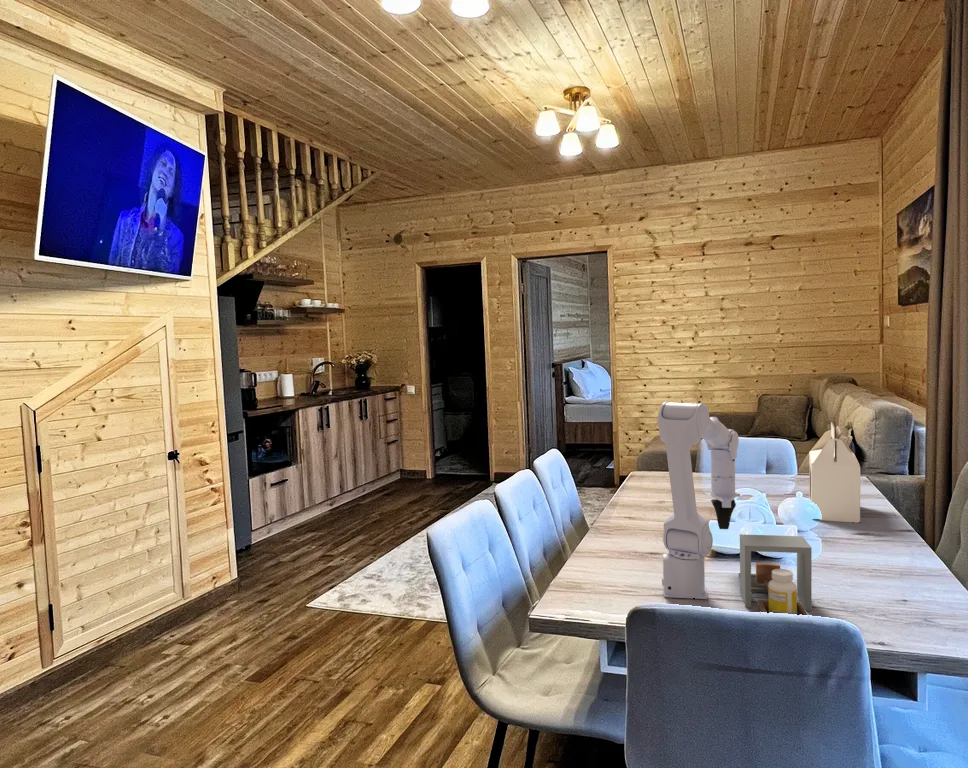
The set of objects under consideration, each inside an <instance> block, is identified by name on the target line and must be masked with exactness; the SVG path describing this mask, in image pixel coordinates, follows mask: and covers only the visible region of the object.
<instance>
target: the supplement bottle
mask: <svg viewBox="0 0 968 768" xmlns="http://www.w3.org/2000/svg"><path fill="white" fill-rule="evenodd" d="M772 579H773V580H771V581H770V582H769V584H768V593H767V594H768V600H769V611H768V613H769V612H773V613H788V614H797V615H798V612H797V602H798V597H797V583H795V582H794V581H793V580H794V573H793V571H791V570H788V569H785V568H780V569H774V570H772Z"/></svg>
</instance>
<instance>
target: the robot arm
mask: <svg viewBox="0 0 968 768" xmlns="http://www.w3.org/2000/svg"><path fill="white" fill-rule="evenodd" d="M657 424H658V433H659V440H660V441H662V443H664V445H665V451H666V457H667V459H666V460H667V467H668V474H669V476H668V477H669V483H670V492H671V498H672V507H673V508H672V509H673V513H672V514H671V515H669V516H668V517H667V518H666V519H665V521H664V523H663V533H662V543H663V546H664V547H665V549H666V550H667V551H668V553H662V577H661V586H663V597H665V598H676V599H693V598H695V600H696V599H697V600H698V599H699V600H708V599H709V595H708V592H707V587H706V583H705V582H706V581H705V579H706V578H705V558H706V557H707V556H708V555H709V554H711V551H712V548H713V539H714V538H713V534H712V532H711V529H710V525H709V524H710V523H709V521H708V520H707V519H706V518H704V516H702V515H701V514H700V513H698V510H697V508H698V507H697V500H696V492H695V484H694V474H693V466H692V457H691V450H690V449H691V448H692V446H693V447H694V446H695V445H697V444H699V443H700V442H701V440H702V439H703V440H704V441H705V443H706V446H707V450H709V451H710V474H711V475H710V482H711V483H710V484H711V487H710V489H711V491H710V496H711V497H712V498H714V499H710V501H711V504H712V506H713V508H714V510H715V511H714V512H715V513H716V514H715V515H716V521H717V525H718V527H719V529H720V530H729V528H730V523H731V518H732V515H733V511H734V510H735V508H736V506H737V503H736V501H735V498H736V497H737V498H738V497H741V493H740V492H738V491H736V458H737V456H738V447H739V442H740V440H739V434H738V432H737V431H735V430H734V429H733V428H731V429H730V428H727V427H726V426H725V424H723V423H722V422H721V421H720V420H719V418H718V417H717V416H710V411H709V407H708V406H707V405H706V404H705V403H704V402H698V403H694V402H692V403H691V402H671V401H664V402H663V403H662V404H661V406H660V407H659V409H658V414H657Z"/></svg>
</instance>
